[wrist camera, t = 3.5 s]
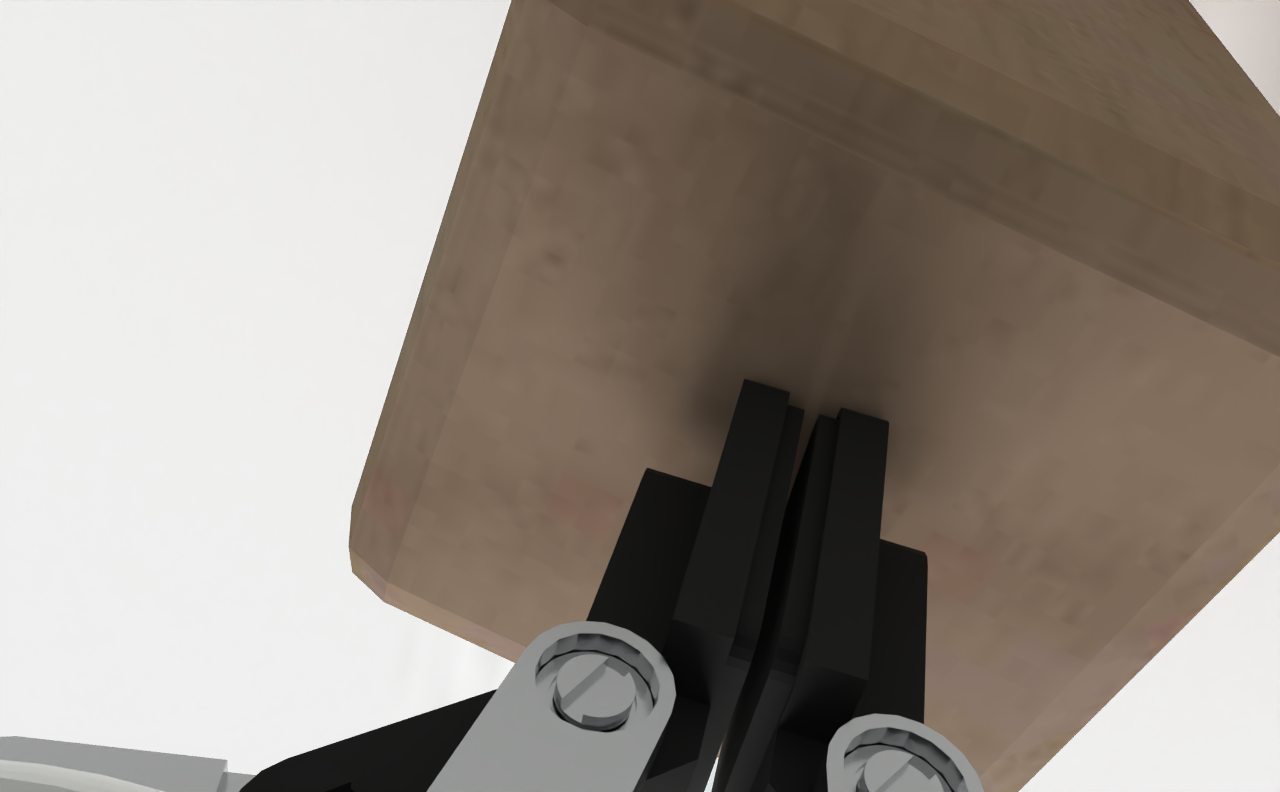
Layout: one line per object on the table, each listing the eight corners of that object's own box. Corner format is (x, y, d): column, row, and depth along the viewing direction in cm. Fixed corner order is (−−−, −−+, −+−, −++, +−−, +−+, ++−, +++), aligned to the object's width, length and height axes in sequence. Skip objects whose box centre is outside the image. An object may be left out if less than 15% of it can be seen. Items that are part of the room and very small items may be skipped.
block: (788, -238, 27) (523, -127, 10) (1169, -54, 27) (1529, 354, 10) (635, 133, 32) (305, 598, 16) (951, 283, 32) (954, 900, 16)
